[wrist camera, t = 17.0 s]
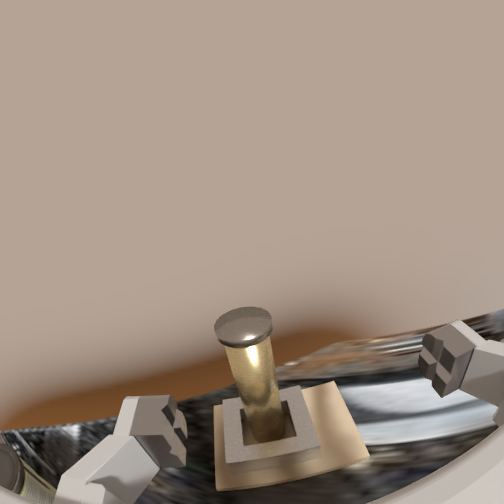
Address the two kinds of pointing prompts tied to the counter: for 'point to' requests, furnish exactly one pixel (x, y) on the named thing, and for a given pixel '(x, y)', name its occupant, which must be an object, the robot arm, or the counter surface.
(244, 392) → the brass peg
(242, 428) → the jig
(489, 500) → the robot arm
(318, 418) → the jig plate
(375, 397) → the counter surface
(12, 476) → the coffee can
